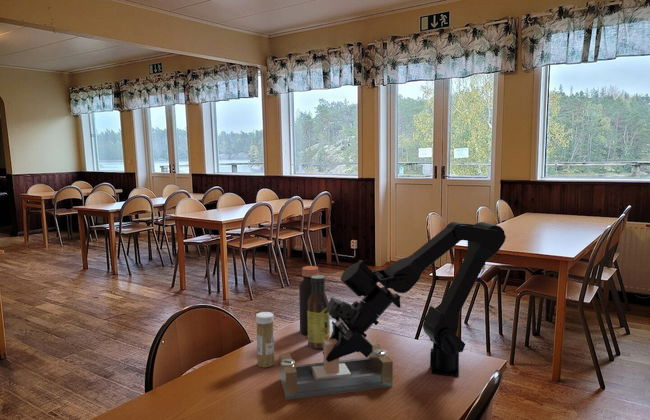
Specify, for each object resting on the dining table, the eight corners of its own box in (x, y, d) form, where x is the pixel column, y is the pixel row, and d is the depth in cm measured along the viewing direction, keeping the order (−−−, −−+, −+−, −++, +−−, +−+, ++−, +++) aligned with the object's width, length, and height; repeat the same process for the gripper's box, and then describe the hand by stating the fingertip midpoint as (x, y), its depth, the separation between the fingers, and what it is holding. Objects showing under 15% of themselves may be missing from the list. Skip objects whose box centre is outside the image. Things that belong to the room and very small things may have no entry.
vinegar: (295, 331, 147) (294, 267, 144) (313, 326, 151) (312, 264, 148) (308, 338, 141) (307, 271, 139) (326, 332, 146) (326, 268, 143)
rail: (379, 367, 122) (379, 342, 121) (393, 386, 112) (394, 359, 111) (278, 379, 116) (278, 352, 115) (284, 400, 107) (284, 371, 106)
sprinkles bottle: (274, 367, 123) (273, 316, 121) (256, 368, 122) (255, 317, 120) (274, 359, 127) (273, 310, 125) (256, 360, 126) (255, 311, 125)
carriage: (344, 370, 117) (344, 335, 116) (350, 380, 112) (350, 344, 111) (312, 373, 116) (312, 338, 115) (317, 384, 110) (316, 348, 109)
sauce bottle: (329, 350, 133) (329, 280, 130) (307, 350, 133) (306, 280, 131) (329, 340, 139) (329, 273, 137) (308, 340, 140) (307, 273, 137)
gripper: (337, 276, 121) (294, 322, 120) (358, 298, 103) (308, 353, 102) (367, 304, 124) (325, 349, 123) (393, 330, 106) (344, 383, 105)
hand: (325, 357), depth 113 cm, fingers closed on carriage, 3 cm apart
